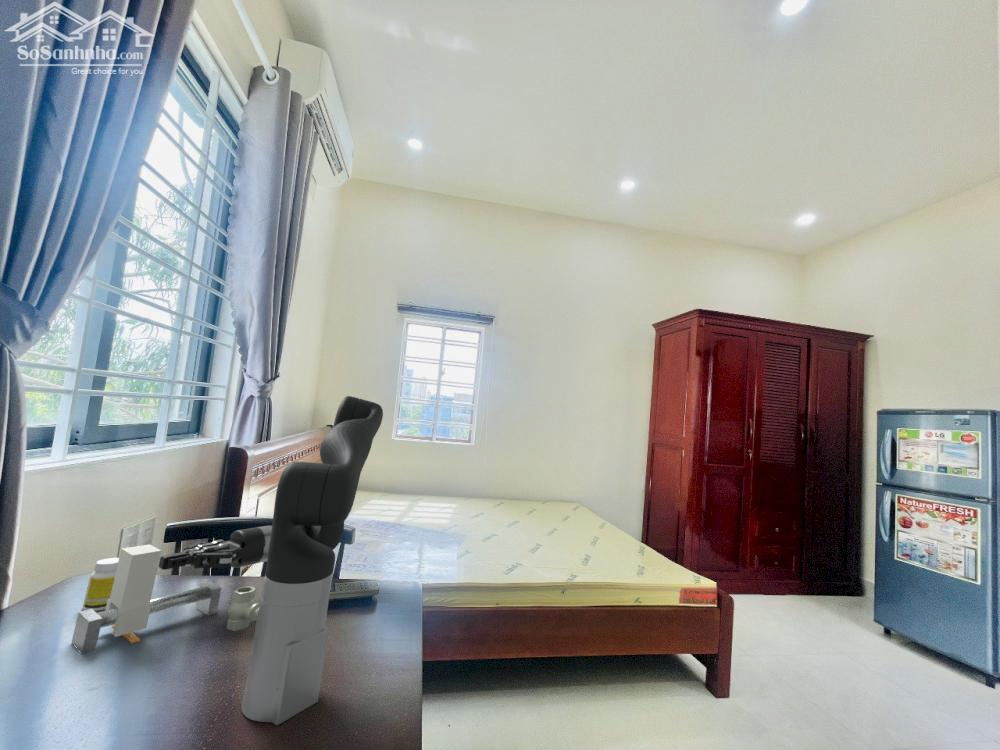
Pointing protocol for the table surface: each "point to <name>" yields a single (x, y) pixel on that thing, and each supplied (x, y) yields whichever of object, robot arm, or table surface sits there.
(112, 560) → the supplement bottle
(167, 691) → the table surface
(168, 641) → the table surface
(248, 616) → the valve
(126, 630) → the tall white pillar block
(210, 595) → the rail
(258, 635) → the robot arm
